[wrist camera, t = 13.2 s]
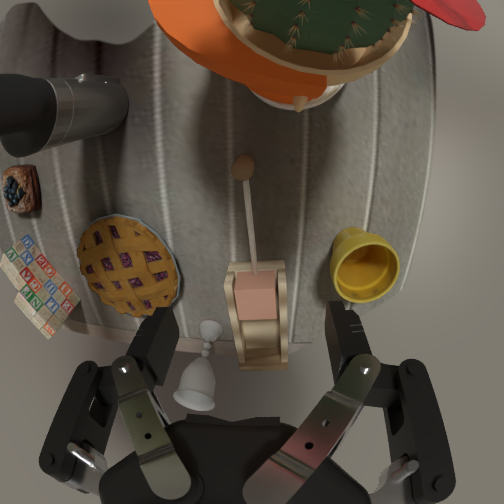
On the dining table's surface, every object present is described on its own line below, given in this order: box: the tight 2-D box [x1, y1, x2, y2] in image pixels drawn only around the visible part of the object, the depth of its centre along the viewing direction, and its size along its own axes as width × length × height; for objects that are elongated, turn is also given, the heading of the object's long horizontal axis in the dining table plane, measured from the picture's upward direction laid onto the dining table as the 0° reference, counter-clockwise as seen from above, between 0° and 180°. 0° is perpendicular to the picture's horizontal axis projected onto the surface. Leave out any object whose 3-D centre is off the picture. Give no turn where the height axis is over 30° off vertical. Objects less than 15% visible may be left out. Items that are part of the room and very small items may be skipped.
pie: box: [77, 214, 181, 318], centre depth 46 cm, size 22×22×5 cm
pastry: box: [3, 165, 41, 213], centre depth 39 cm, size 11×12×6 cm
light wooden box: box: [224, 259, 288, 371], centre depth 48 cm, size 20×9×8 cm, turn 5°
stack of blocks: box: [0, 234, 80, 339], centre depth 47 cm, size 21×6×12 cm, turn 34°
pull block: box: [231, 154, 277, 320], centre depth 39 cm, size 24×6×6 cm, turn 5°
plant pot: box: [330, 227, 400, 303], centre depth 40 cm, size 10×10×10 cm
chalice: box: [173, 320, 223, 411], centre depth 47 cm, size 7×7×18 cm
